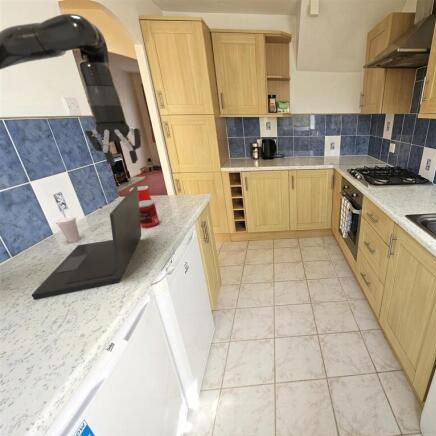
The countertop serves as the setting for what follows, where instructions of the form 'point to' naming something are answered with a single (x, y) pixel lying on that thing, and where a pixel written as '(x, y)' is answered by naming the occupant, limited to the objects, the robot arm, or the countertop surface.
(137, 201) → the laptop screen
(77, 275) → the laptop
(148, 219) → the canned food
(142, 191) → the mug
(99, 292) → the countertop surface
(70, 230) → the smoothie
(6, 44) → the robot arm
